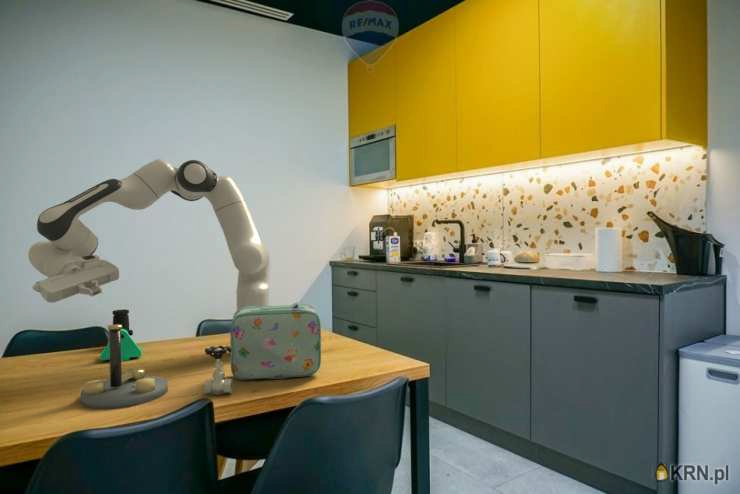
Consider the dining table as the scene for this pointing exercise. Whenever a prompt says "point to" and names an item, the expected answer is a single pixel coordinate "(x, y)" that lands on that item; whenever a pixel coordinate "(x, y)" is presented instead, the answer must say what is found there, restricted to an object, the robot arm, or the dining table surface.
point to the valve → (218, 373)
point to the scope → (122, 320)
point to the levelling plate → (122, 392)
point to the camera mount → (124, 348)
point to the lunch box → (275, 342)
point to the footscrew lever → (115, 359)
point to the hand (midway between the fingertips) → (96, 292)
